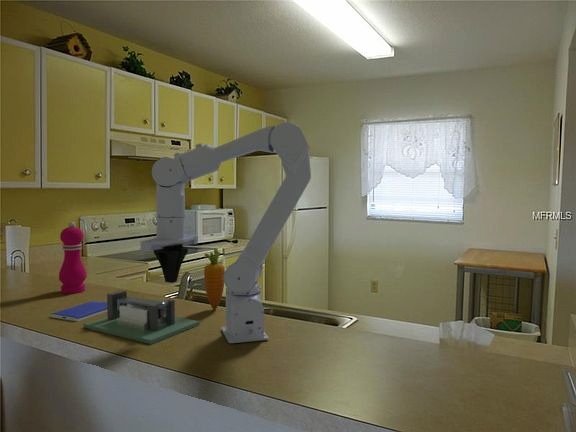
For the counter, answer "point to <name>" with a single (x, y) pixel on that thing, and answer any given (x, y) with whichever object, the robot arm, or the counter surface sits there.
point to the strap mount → (153, 310)
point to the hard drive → (82, 311)
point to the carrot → (214, 279)
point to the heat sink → (138, 317)
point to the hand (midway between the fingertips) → (171, 281)
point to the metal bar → (140, 302)
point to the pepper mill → (72, 261)
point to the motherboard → (147, 336)
